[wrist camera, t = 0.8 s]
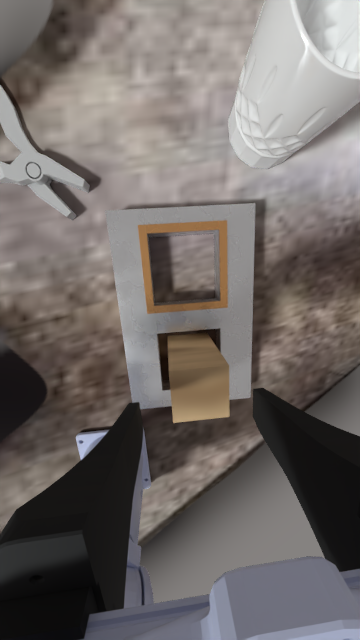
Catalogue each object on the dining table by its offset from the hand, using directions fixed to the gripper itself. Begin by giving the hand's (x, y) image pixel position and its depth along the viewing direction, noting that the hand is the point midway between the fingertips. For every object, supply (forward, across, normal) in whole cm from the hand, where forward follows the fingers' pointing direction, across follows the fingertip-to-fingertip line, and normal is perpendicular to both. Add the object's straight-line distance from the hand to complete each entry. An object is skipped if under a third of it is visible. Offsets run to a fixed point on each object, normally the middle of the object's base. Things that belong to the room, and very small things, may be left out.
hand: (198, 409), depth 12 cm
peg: (+10, -1, +1) cm, 10 cm away
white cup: (+10, -9, -20) cm, 24 cm away
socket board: (+10, -1, -4) cm, 11 cm away
